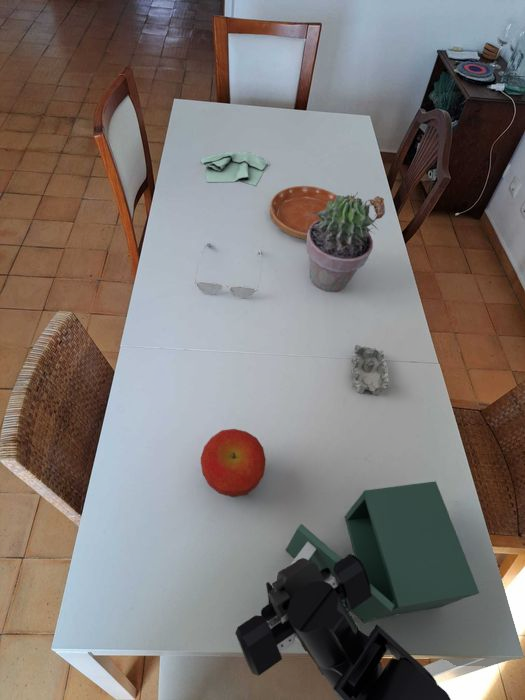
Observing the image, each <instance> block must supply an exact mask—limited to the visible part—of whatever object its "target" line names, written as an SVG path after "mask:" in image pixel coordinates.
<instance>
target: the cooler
mask: <svg viewBox="0 0 525 700" xmlns="http://www.w3.org/2000/svg"><path fill="white" fill-rule="evenodd" d="M344 520H345V524H346V528H347V532H348V535H349V540H350V544H351V548H352V551H353V555H354V556H355V557H356V558H358V559H359V560H360V561H361V562H362V564H363V565H364V567H365V570H366V573H367V577H368V580H369V583H370V584H371V585H372V586H373V587H375V588H376V589H377V590H378V591H379V592H380V593H381V594H383V595H384V596H385V597H386V598H387V599H388V600H390V601H391V602H392V603H393V604H394V605H395V606H394V608H393V610H392V611H391V612H389V613H386V614H384V615H382V616H380V617H377V618H375V619H374V620H377V619H381V618H387V617H394V616H399V615H404V614H405V615H406V614H410V613H416V612H420V611H427V610H432V609H438V608H442V607H445V606H447V605H451V604H453V603H456V602H459V601H462V600H464V599H466V598H470V597H472V596H475V595H478V594H480V590H479V588H478V586H477V583H476V580H475V577H474V575H473V572H472V570H471V567H470V565H469V563H468V560H467V558H466V555H465V553H464V550H463V547H462V544H461V541H460V540H459V539H460V538H459V536H458V534H457V531H456V530H455V526H454V524H453V522H452V518H451V517H450V514H449V511H448V509H447V506H446V504H445V501H444V498H443V496H442V493H441V491H440V488H439V486H438V483H437V481H436V480H435V481H428V482H421V483H414V484H413V483H411V484H404V485H396V486H387V487H380V488H373V489H365V490H364V491H363V492H362V493H361V494H360V496H359V497H358V498H357V500H356V501H355V502H354V504H353V505H352V506H351V507H350V508H349V510H348V511H347V512H346V513H345V515H344Z"/></svg>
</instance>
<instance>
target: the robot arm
mask: <svg viewBox="0 0 525 700" xmlns="http://www.w3.org/2000/svg"><path fill="white" fill-rule="evenodd" d="M341 559H342V560H340V561H339V562H337V563H335V565H334V569H333V570H334V573H335V574H336V575H337V576H338V578H339V581H340V583H339V582H338V579H337V578H336V577H333V576H332V575H331V572H330V569H329V568H324V569H322V570H319V568H318V566H317V565H316V564H315V563H313V562H311V561H309V560H307V559H305V558H301V559H299V560H297V561H296V562H295V563H293V564H292V565H290V564H289V565H288V566H286V567H285V568H283V569H281V570H280V571H278V573H277V575H276V580H274V581H273V582H272V583H270V582H269V581H267V582H266V583H265V586H266V591H267V598H268V604H267V605H265V606H263V607H262V608H261V610H260V615H254V616H253V617H250V618H249V619H248V620H246V621H245V622H243V623H242V624H240V625H239V626H237V628H236V630H235V632H234V633H235V636H236V639H237V641H238V644H239V646H240V649H241V651H242V654H243V656H244V659H245V661H246V664H247V666H248V668H249V670H250V672H251V674H252V675H255V676H258V677H260V676H261V675H262V674H264V673H265V672H267V671H268V670H269V669H271V668H272V667H274V666H275V665H276V664H278V663H280V661H282V660H283V658H282V655H281V653H282V652H283V651H285V650H286V649H288V648H289V647H290V646H292V645H293V644H294V643H295V641H296V638H297V640H298V641H299V642H300V645H301V647H302V648H303V649H304V651H305V652H307V653H308V656H309V657H310V658H311V660H312V661H313V662H314V664H315V665H316V666H317V669H318V671H319V672H320V673H321V675H322V676H324V679H326V681H327V682H328V683H329V685H330V686H331V688H332V690H333V692H334V693H335V695H336V696H337V698H338V699H339V700H452V699H451V698H450V695H449V694H448V693H447V691H446V690H445V689H444V688H443V687H441V686H440V685H439V684H438V683H437V680H436V679H435V677H434V676H433V675H432V673H431V672H430V671H429V670H427V668H425V666H423V665H422V664H421V663H420V662H419V661H418V660H417V659H416V658H414V657H413V656H412V655H411V654H410V653H409V652H408V651H407V650H406V649H405V648H404V647H403V646H401V645H400V644H399V643H398V642H397V641H396V640H395V639H394V638H392V636H390V634H388V632H386V631H385V630H384V629H383V628H381V626H379V625H378V624H376V625H375V626H374V628H373V629H372V630H371V632H370V633H369V634H368V635H367V634H366V633H364V632H362V631H361V630H360V629H359V627H358V625H357V624H356V622H355V620H354V619H353V617H352V615H351V614H350V612H352V611H351V610H353V609H354V608H356V607H357V606H359V605H360V604H361V603H363V602H364V601H366V600H367V599H369V598H370V597H371V596H372V595H371V586H370V583H369V580H368V577H367V573H366V570H365V567H364V565H363V564H362V562H361V561H360V560H359V559H358V558H356V557H355V555H354V554H348V555H346V556H345V557H343V558H341ZM343 599H345V603H343V602H342V600H343ZM387 650H388V652H390V654H391V655H392V656H393V658H390V659H389V661H388V662H387V664H386V665H385V666H384V667H383V664H382V662H381V661H382V659H383V658H384V656H385V654H386V653H387Z"/></svg>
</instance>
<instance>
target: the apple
mask: <svg viewBox="0 0 525 700" xmlns="http://www.w3.org/2000/svg"><path fill="white" fill-rule="evenodd" d="M266 460H267V458H266V455H265V450H264V447H263V446H262V444H261V442H260V441H259V440H258V437H256V436H254V435H252V434H251V433H249V432H247V431H246V430H241V429H238V428H230V429H222V430H220V431H218V432H217V433H216V434H214V435H213V436H211V437H210V439H209V440H208V441H207V442H206V444H205V445H204V446H203V449H202V452H201V455H200V466H201V471H202V476H203V477H204V480H205V481H206V483H207V485H208V486H209V487H210V488H211V489H213V490H214V491H215V492H216V493H218V494H219V495H224V496H227V497H231V498H237V497H241V496H246V495H248V494H249V493H251V492H252V491H253V490H255V489H256V488H257V487H258V485H259V484H260V482H261V481H262V479H263V478H264V476H265V470H266Z"/></svg>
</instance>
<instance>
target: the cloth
mask: <svg viewBox="0 0 525 700" xmlns="http://www.w3.org/2000/svg"><path fill="white" fill-rule="evenodd" d="M199 161H200V162H201V164H202V165H203V164H204V165H206V166H207V167H206V168H205V177H206V183H235V182H236V181H238V182H241V183H245V184H247V185H250V186H255V187H256V186H257V185H258V183H259V182H260V179H261V178H262V175H263V173H264V171H265V167H266V166H267V165H268V164H269V161H267V160H266V159H265V158H264V157H263V158H262V157H261V156H259V155H257V154H256V153H252V152H247V151H240V152H239V151H238V152H237V151H236V152H234V151H229V152H223V153H217V154H214V155H209V156H206V157H205V158H202V159H200V160H199Z"/></svg>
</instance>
